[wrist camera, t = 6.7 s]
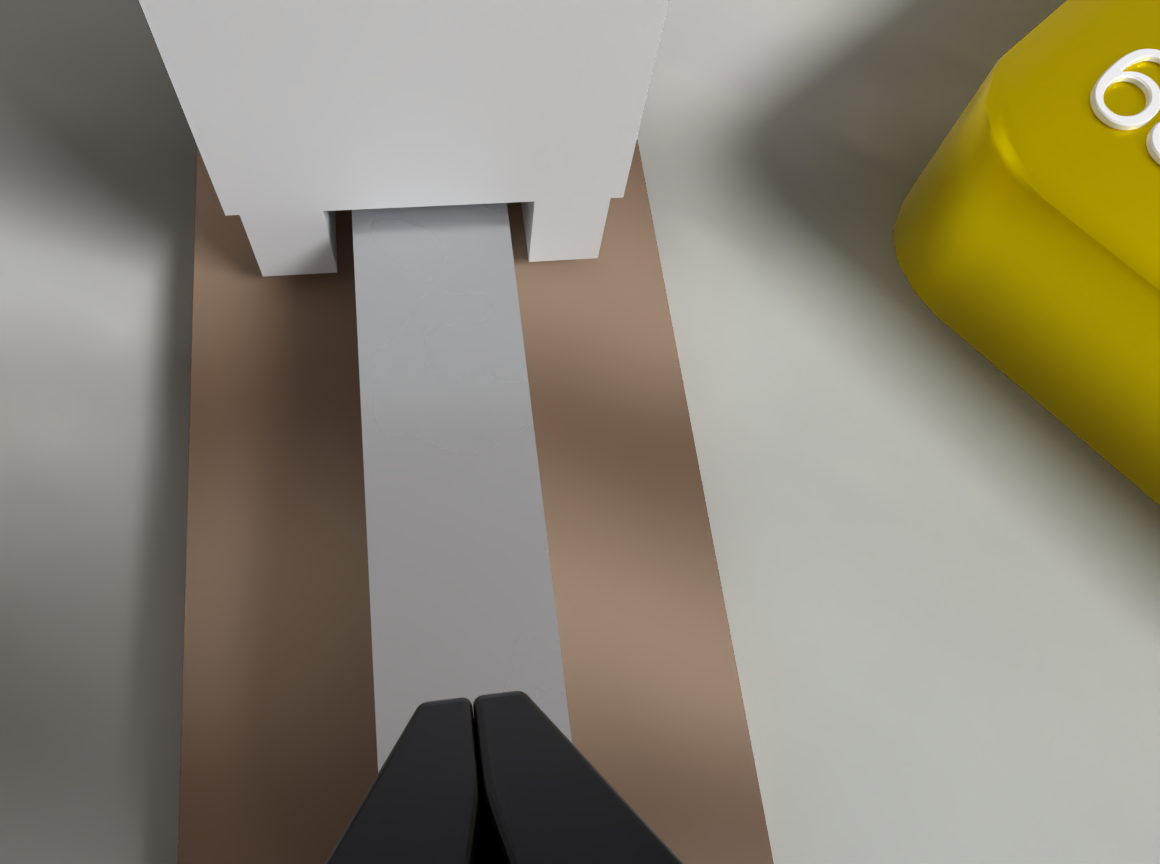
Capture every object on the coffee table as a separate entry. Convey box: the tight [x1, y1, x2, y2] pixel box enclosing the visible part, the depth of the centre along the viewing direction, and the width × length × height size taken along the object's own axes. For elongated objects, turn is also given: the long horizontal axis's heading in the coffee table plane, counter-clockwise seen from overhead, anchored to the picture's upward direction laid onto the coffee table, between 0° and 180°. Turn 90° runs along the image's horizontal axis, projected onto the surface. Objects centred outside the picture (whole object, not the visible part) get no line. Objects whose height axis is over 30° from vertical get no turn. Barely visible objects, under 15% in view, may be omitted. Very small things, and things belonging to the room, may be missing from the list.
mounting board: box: [178, 141, 774, 864], centre depth 16 cm, size 22×8×1 cm, turn 7°
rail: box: [352, 203, 572, 773], centre depth 13 cm, size 20×7×5 cm, turn 7°
